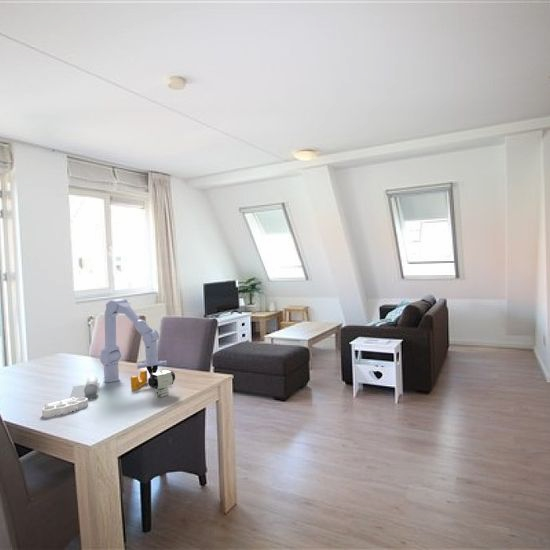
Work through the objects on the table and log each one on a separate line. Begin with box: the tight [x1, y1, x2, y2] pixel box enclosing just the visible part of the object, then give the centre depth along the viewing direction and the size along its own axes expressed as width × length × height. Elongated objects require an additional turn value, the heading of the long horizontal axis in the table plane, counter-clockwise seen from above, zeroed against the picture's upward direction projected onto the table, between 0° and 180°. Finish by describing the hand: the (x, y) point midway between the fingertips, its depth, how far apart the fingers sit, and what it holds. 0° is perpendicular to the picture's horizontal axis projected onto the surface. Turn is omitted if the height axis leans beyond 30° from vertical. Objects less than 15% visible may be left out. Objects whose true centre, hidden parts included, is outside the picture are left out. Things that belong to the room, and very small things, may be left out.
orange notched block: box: [130, 369, 148, 391], centre depth 204 cm, size 12×4×6 cm, turn 172°
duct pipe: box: [69, 375, 100, 400], centre depth 196 cm, size 22×12×6 cm, turn 22°
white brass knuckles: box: [41, 397, 89, 418], centre depth 175 cm, size 3×18×15 cm
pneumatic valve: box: [147, 369, 176, 398], centre depth 187 cm, size 6×12×12 cm, turn 138°
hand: (152, 380), depth 208 cm, fingers closed
